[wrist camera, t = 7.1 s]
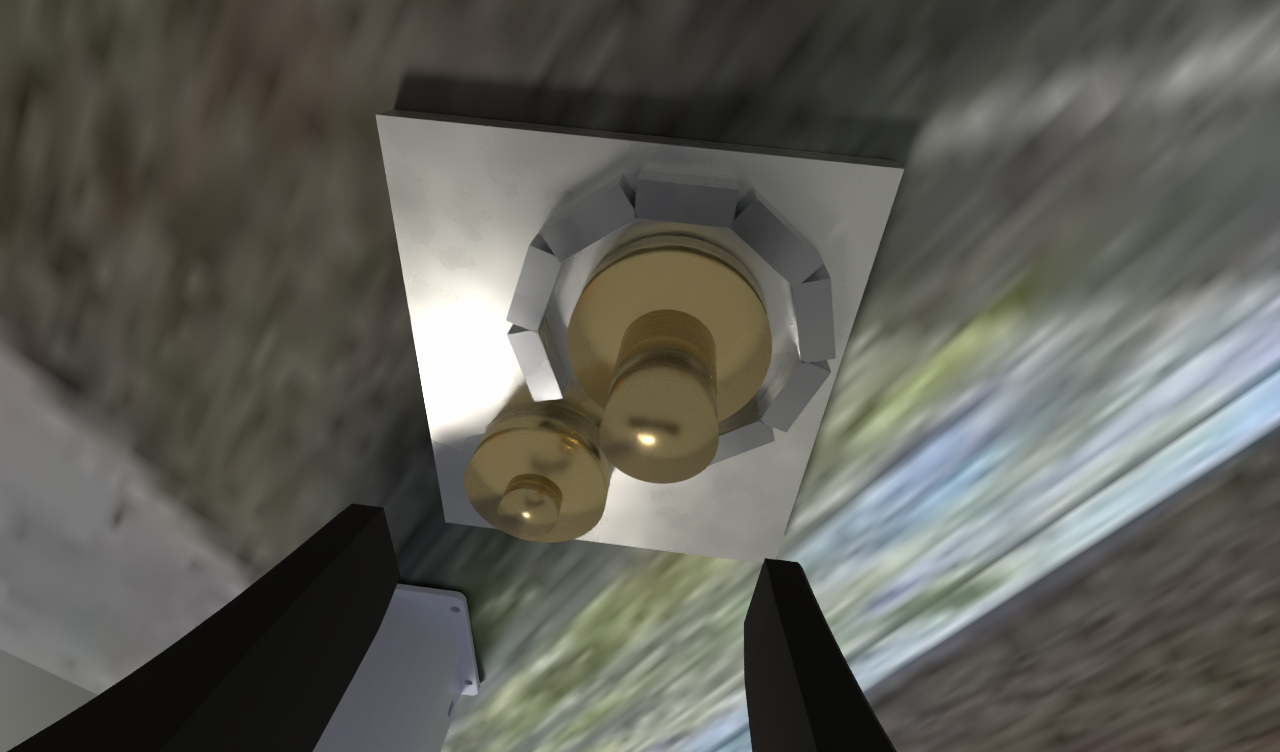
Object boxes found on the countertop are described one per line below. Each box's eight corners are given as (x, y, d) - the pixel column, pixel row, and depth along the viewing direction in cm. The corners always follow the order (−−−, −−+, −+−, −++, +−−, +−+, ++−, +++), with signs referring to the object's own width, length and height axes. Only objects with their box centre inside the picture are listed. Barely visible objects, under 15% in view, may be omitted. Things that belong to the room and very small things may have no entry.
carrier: (771, 545, 24) (782, 631, 21) (454, 505, 25) (415, 582, 21) (893, 159, 15) (945, 202, 12) (392, 108, 16) (309, 136, 12)
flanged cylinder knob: (718, 426, 20) (722, 554, 15) (555, 369, 19) (508, 484, 14) (803, 279, 16) (841, 385, 12) (610, 204, 16) (571, 285, 11)
